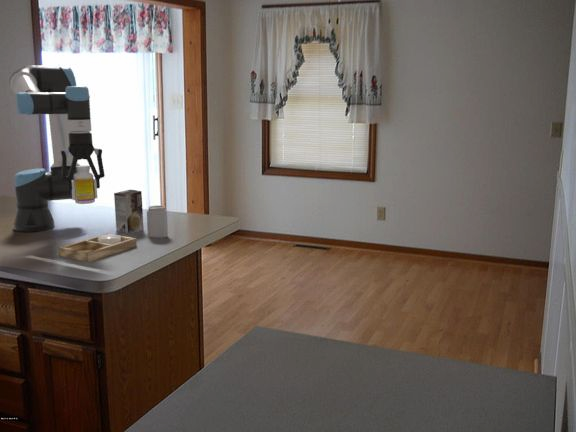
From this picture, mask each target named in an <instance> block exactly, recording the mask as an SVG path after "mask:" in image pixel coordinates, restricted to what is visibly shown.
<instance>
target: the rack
mask: <svg viewBox="0 0 576 432" xmlns="http://www.w3.org/2000/svg"><path fill="white" fill-rule="evenodd" d="M103 235H115V234H114V233H104V234H100V235H97V236H92V237H90V238H87V239H83V240H80V241H76V242H73V243H69V244H66V245H63V246H59V247H58V256H59V257H63V258H69V259H73V260H77V261H78V260H79V261H84V262H87V263H88V262H89V263H90V262H91V263H92V262H93V261H97V260H100V259H102V258H105V257H107V256H111V255H114V254H117V253H120V252H121V253H122V252H124V251H126V250H130V249H132V248H133V249H134V248H135V247H137V245H138V244H137V238H136V237H131V236H124V235H120V236H121V242H119V243H116V244H113V245H110V244H105V243H99V242H98V237H100V236H103Z"/></svg>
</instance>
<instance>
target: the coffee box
mask: <svg viewBox="0 0 576 432" xmlns="http://www.w3.org/2000/svg"><path fill="white" fill-rule="evenodd" d="M142 193H143V192H142V191H141V190H137V189H136V190H135V189H127V190H122V191H119V192H114V193H113V198H114V199H113V200H114V210H115V211H114V212H115V213H114V214H115V228H116V232H120V233H127V234H130V233H133V234H136V233H140V232H142V231H144V230H145V228H144V216H143V215H144V214H143V213H144V212H143V211H144V210H143V197H142Z"/></svg>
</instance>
